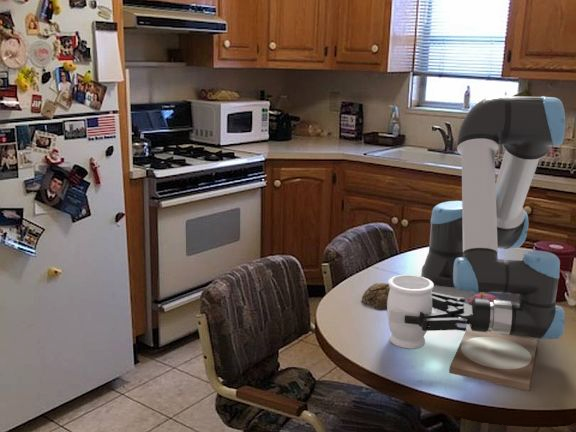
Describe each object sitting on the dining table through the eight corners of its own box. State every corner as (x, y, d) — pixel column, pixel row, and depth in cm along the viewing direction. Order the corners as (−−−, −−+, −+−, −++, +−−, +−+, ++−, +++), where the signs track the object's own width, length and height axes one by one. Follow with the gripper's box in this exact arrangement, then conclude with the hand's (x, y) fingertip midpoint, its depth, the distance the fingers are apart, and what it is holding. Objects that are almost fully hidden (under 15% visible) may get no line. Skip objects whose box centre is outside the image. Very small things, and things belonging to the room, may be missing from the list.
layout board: (467, 332, 151) (467, 326, 151) (536, 345, 145) (537, 339, 144) (449, 372, 132) (449, 365, 132) (528, 390, 126) (529, 383, 125)
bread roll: (377, 289, 179) (378, 273, 178) (415, 300, 171) (416, 283, 170) (352, 302, 169) (353, 285, 168) (391, 315, 162) (392, 297, 160)
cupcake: (465, 324, 156) (469, 280, 152) (467, 312, 163) (471, 269, 160) (501, 330, 153) (506, 284, 150) (502, 316, 160) (506, 273, 157)
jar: (429, 353, 140) (434, 292, 137) (384, 349, 142) (387, 288, 139) (429, 333, 150) (433, 275, 147) (386, 329, 152) (389, 272, 149)
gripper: (492, 354, 130) (386, 342, 135) (484, 311, 152) (394, 302, 157) (495, 321, 128) (388, 310, 133) (487, 282, 150) (395, 274, 155)
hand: (391, 306), depth 145 cm, fingers closed on jar, 10 cm apart
